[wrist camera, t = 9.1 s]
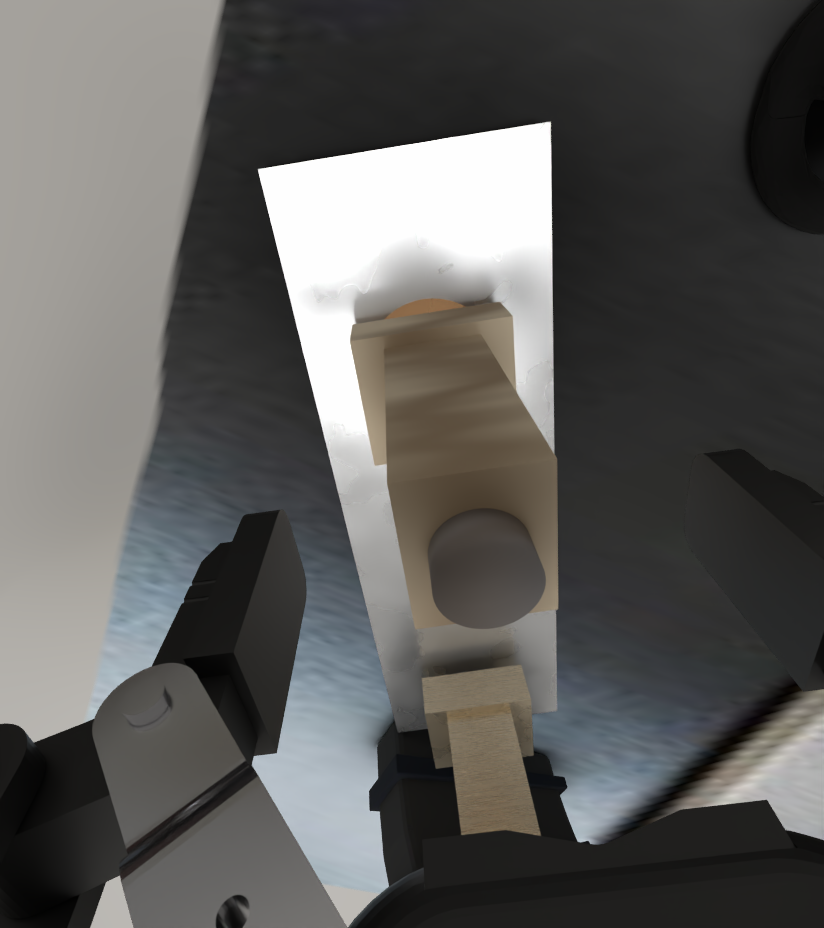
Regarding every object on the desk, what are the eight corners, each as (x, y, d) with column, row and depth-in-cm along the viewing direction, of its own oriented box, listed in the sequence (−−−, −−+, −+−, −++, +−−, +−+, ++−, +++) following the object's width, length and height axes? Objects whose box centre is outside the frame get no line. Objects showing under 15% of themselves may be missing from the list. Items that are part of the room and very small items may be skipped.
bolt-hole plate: (540, 124, 17) (857, 35, 6) (550, 692, 31) (651, 998, 19) (265, 169, 17) (46, 170, 6) (397, 713, 31) (407, 1029, 20)
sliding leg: (496, 298, 18) (640, 457, 8) (504, 414, 20) (624, 654, 10) (353, 320, 18) (320, 505, 8) (375, 434, 20) (370, 689, 10)
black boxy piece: (345, 725, 29) (497, 1124, 18) (511, 689, 37) (681, 953, 26) (320, 764, 30) (447, 1151, 20) (484, 721, 38) (635, 983, 28)
